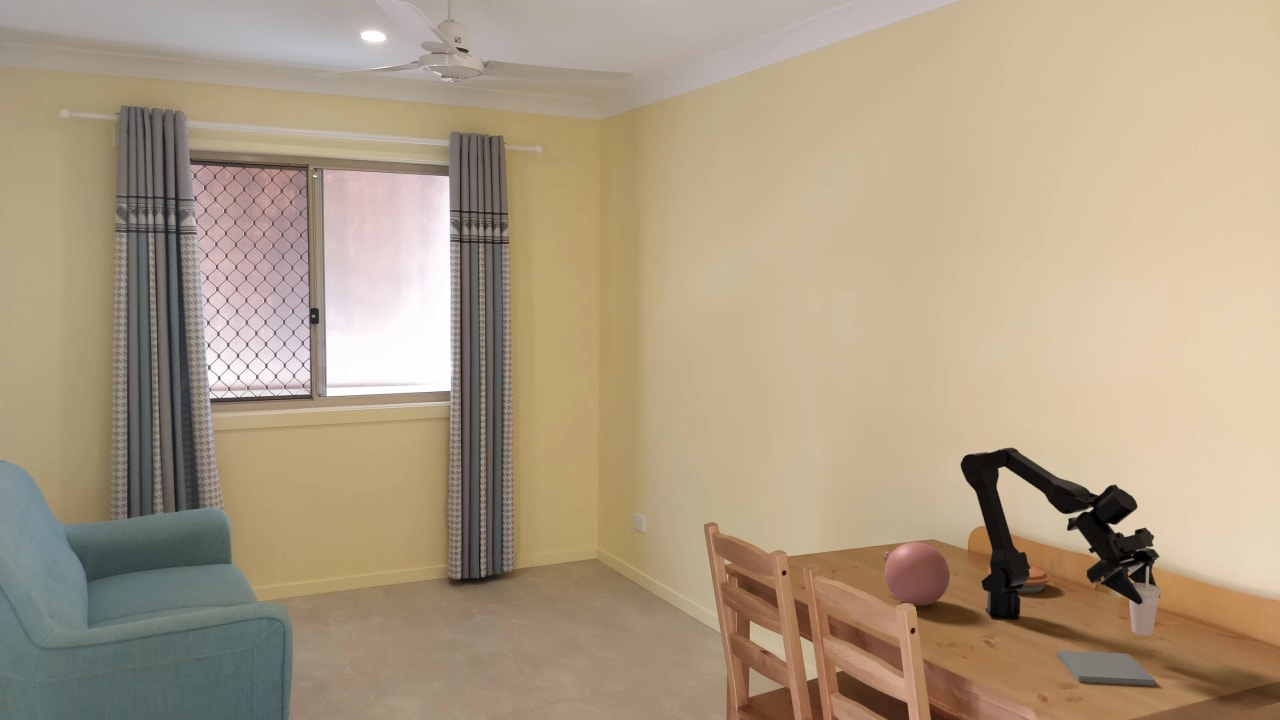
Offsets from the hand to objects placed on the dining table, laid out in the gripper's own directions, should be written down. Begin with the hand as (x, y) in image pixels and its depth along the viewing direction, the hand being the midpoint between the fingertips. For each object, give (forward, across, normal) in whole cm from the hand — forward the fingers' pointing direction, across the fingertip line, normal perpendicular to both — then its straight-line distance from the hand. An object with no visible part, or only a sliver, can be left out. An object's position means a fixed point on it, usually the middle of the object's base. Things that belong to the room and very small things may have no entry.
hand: (1149, 600), depth 194 cm
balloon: (-29, -10, +48) cm, 57 cm away
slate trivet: (+8, -12, +10) cm, 18 cm away
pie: (-24, +24, +43) cm, 55 cm away
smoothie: (+4, 0, +6) cm, 7 cm away
